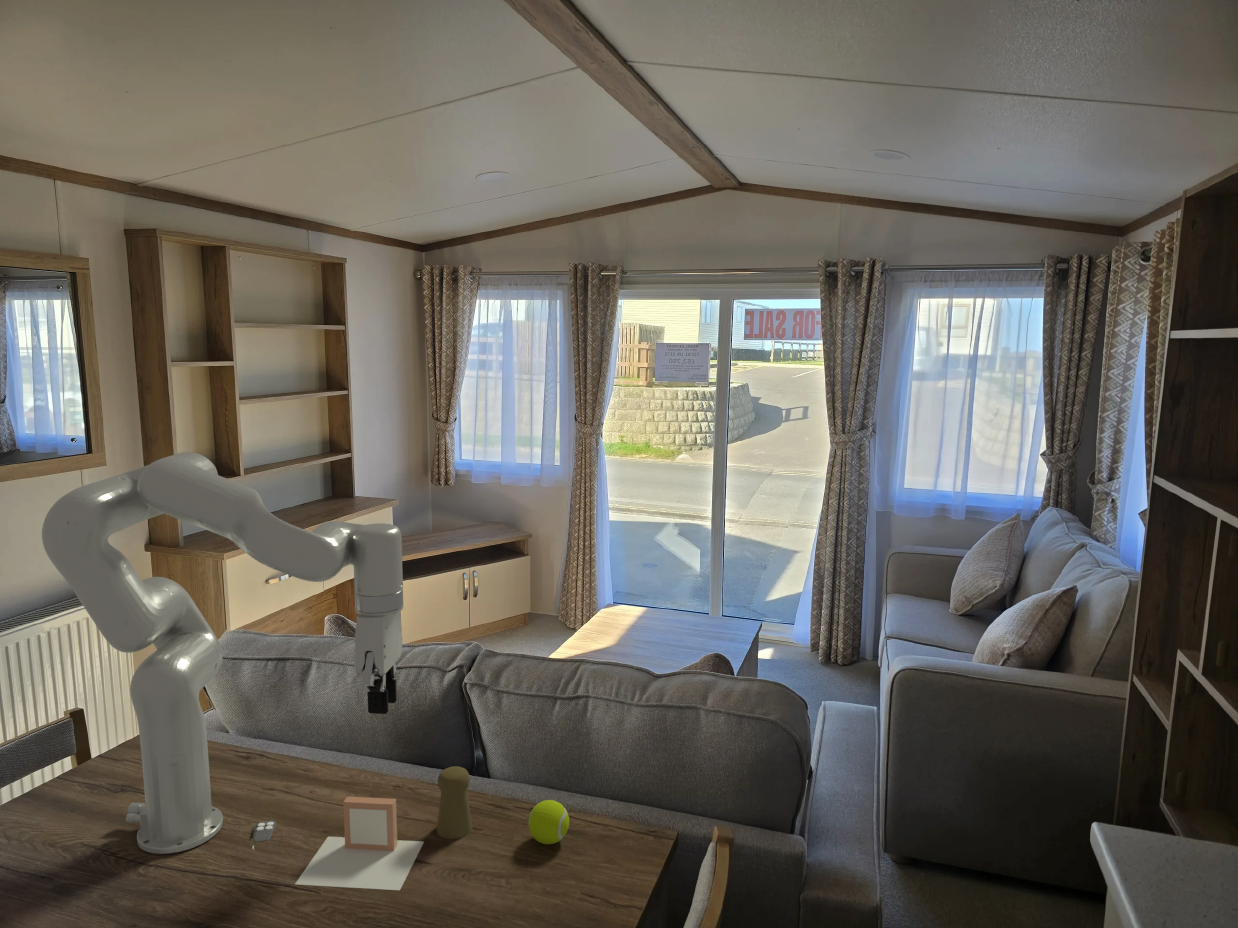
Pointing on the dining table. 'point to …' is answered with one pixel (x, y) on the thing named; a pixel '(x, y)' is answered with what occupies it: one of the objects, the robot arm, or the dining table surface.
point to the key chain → (263, 831)
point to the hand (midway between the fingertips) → (382, 706)
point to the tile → (370, 823)
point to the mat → (360, 866)
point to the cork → (454, 804)
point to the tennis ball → (548, 822)
